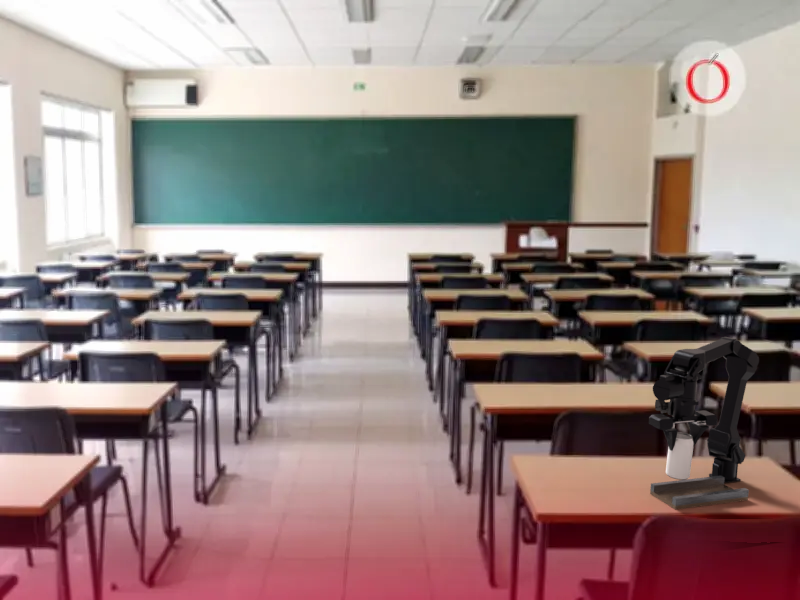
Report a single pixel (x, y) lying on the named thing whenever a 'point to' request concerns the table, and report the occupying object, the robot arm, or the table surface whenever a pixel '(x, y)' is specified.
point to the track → (697, 492)
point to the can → (680, 457)
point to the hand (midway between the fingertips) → (681, 449)
